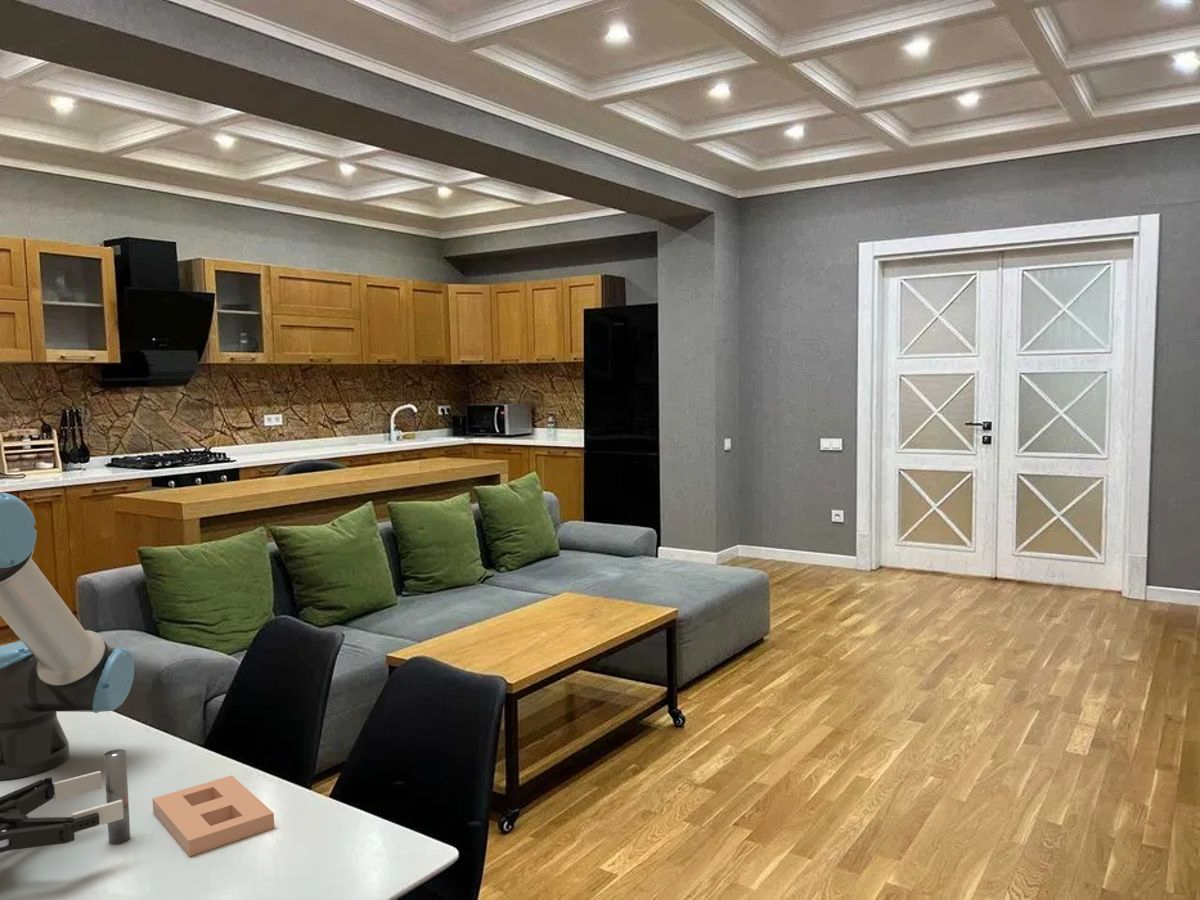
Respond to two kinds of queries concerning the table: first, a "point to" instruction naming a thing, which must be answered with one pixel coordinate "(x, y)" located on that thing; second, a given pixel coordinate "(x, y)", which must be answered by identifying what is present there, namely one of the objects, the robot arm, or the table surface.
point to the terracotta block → (212, 814)
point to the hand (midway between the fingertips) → (111, 793)
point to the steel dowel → (117, 793)
